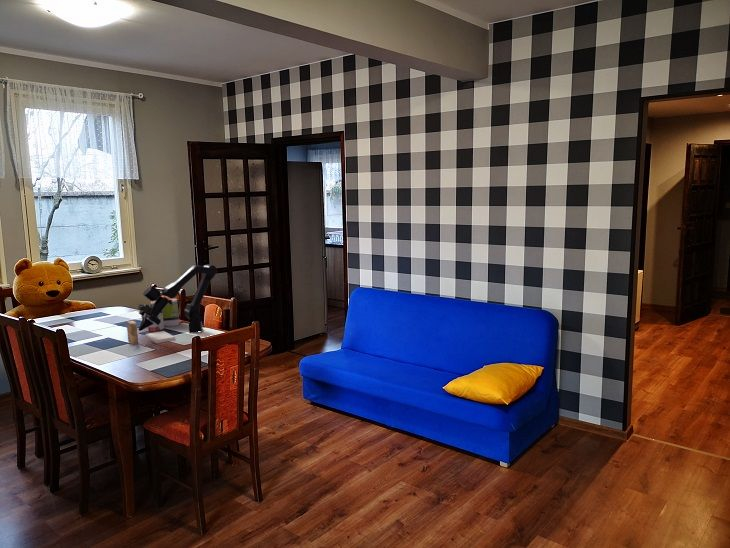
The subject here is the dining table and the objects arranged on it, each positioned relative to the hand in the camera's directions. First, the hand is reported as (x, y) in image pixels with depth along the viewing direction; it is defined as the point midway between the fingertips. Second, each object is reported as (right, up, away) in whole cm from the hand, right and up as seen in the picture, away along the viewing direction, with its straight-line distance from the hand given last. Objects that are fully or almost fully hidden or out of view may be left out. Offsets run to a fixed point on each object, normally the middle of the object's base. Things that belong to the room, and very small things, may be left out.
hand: (139, 330), depth 290 cm
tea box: (+1, -1, +37) cm, 37 cm away
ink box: (0, -3, +25) cm, 25 cm away
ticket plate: (+8, -5, +8) cm, 12 cm away
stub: (-3, -7, -1) cm, 7 cm away
